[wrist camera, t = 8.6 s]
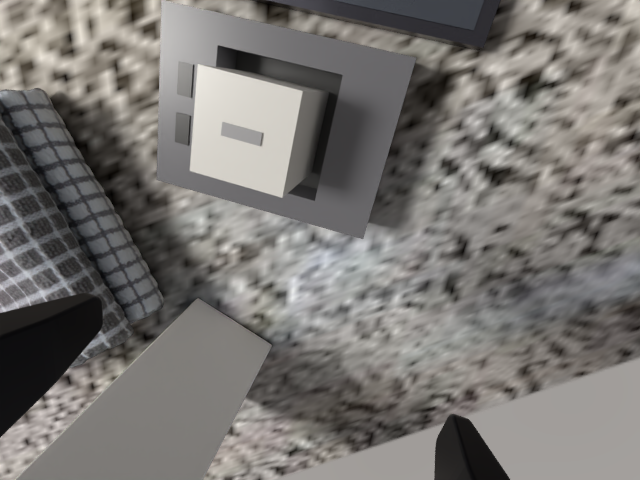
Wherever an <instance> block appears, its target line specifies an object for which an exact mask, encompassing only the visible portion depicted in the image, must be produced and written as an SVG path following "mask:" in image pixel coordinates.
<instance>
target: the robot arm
mask: <svg viewBox="0 0 640 480" xmlns="http://www.w3.org/2000/svg"><path fill="white" fill-rule="evenodd" d="M102 326H103V305H102V300H101V298H100V297H98V296H95V295H92V294H89V293H80V294H76V295H72V296H68V297H64V298H60V299H55V300H51V301H47V302H43V303H39V304H35V305H31V306H27V307H22V308H18V309H14V310H10V311H6V312H2V313H0V437H1V436H2V435H3V434H4V433H5V432H6V431H7V430H8V429H9V428H10V427H11V426H12V425H13V424H14V423H16V422H17V421H18V420H19V419H20V418H21V417H22V416H23V415H24V414H25V413H26V412H27V411H28V410H29V409H30V408H31V407H32V406H33V405H34V404H35V403H36V402H37V401H38V400H39V399H40V398H41V397H42V396H43V395H44V394H45V393H46V392H47V391H48V390H49V389H50V388H51V387H52V386H53V385H54V384H55V383H56V382H57V381H58V380H59V378H60V377H61V376H62V375H63V374H64V373H65V372H66V371H67V369H68V368H69V367H70V366H71V365H72V363H73V362H74V361H75V360H76V359H77V358H78V356H79V355H80V354H81V353H82V352H83V351H84V349H85V348H86V347H87V346H88V345H89V343H90V342H91V341H92V340H93V339H94V338H95V336H96V335H97V334H98V333H99V332H100V330H101V328H102ZM435 452H436V453H435V479H434V480H510V479H509V477H508V476H507V474H506V473H505V471H504V470H503V468H502V467H501V465H500V464H499V462H498V461H497V459H496V458H495V456H494V455H493V454H492V452H491V451H490V449H489V448H488V446H487V445H486V443H485V442H484V440H483V439H482V437H481V436H480V434H479V433H478V431H477V430H476V428H475V427H474V425H473V424H472V422H471V421H470V420H469V419H467V418H464V417H461V416H458V415H455V414H451V415H449V417H448V418H447V420H446V422H445V424H444V426H443V428H442V430H441V431H440V433H439V435H438V438H437V441H436V450H435Z"/></svg>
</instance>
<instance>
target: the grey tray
mask: <svg viewBox="0 0 640 480" xmlns="http://www.w3.org/2000/svg"><path fill="white" fill-rule="evenodd" d="M415 61H416V57H411V56H407V55H402V54H398V53H394V52H389V51H385V50H380V49H376V48H372V47H367V46H363V45H358V44H354V43H350V42H345V41H341V40H336V39H332V38H328V37H323V36H319V35H314V34H310V33H306V32H301V31H297V30H293V29H288V28H284V27H279V26H275V25H271V24H266V23H262V22H257V21H253V20H249V19H244V18H240V17H235V16H231V15H227V14H222V13H218V12H213V11H209V10H205V9H200V8H196V7H191V6H187V5H183V4H178V3H174V2H169V1H165V0H162V5H161V42H160V78H159V115H158V152H157V180H159V181H162V182H166V183H169V184H173V185H176V186H180V187H183V188H187V189H190V190H194V191H197V192H201V193H204V194H208V195H211V196H215V197H218V198H222V199H225V200H229V201H232V202H235V203H239V204H242V205H246V206H249V207H253V208H256V209H260V210H263V211H267V212H270V213H274V214H277V215H281V216H284V217H288V218H291V219H295V220H298V221H302V222H305V223H309V224H312V225H316V226H319V227H323V228H326V229H330V230H333V231H337V232H340V233H344V234H347V235H351V236H354V237H357V238H361V239H363V237H364V234H365V231H366V227H367V224H368V220H369V217H370V214H371V210H372V207H373V204H374V200H375V197H376V193H377V190H378V187H379V183H380V180H381V176H382V173H383V170H384V166H385V163H386V159H387V156H388V153H389V149H390V146H391V142H392V139H393V136H394V132H395V129H396V125H397V122H398V119H399V115H400V112H401V108H402V105H403V102H404V98H405V95H406V91H407V88H408V85H409V81H410V78H411V74H412V71H413V68H414V64H415ZM198 64H201V65H208V66H214V67H221V68H228V69H234V70H241V71H248V72H253V73H257V74H261V75H265V76H269V77H273V78H276V79H280V80H284V81H288V82H292V83H296V84H300V85H304V86H308V87H312V88H316V89H319V90H323V91H327V92H329V95H328V100H327V104H326V109H325V113H324V118H323V122H322V127H321V131H320V136H319V141H318V145H317V150H316V154H315V159H314V163H313V168H312V172H311V174H309V175H308V176H307V177H306V178H305V179H304V180H302V181H301V182H300V183H299V184H298V185H297V186H295V187H294V188H293V189H292V190H291V191H290V192H288V193H287V194H286V195H285V196H284V197H283V198H281V197H278V196H274V195H271V194H267V193H264V192H261V191H257V190H254V189H250V188H247V187H243V186H240V185H237V184H233V183H230V182H226V181H223V180H219V179H216V178H213V177H209V176H206V175H202V174H199V173H195V172H192V171H190V160H191V146H192V133H193V120H194V107H195V93H196V80H197V67H198Z"/></svg>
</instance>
